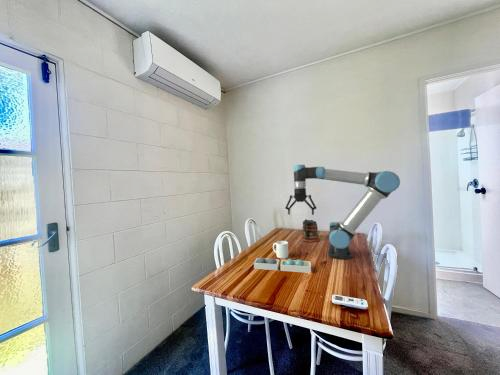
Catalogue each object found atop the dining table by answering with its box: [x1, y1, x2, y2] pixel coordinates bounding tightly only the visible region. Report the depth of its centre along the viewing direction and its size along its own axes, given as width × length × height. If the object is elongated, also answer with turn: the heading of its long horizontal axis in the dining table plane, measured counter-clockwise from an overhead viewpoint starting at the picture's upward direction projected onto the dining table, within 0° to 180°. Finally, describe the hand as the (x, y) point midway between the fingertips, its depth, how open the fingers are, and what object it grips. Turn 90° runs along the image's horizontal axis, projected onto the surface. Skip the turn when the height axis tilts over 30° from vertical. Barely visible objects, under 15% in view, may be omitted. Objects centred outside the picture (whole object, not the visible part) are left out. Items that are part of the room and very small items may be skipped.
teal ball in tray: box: [295, 259, 304, 266], centre depth 120 cm, size 6×6×6 cm
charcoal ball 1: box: [257, 256, 266, 263], centre depth 126 cm, size 6×6×6 cm
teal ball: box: [285, 258, 294, 265], centre depth 122 cm, size 6×6×6 cm
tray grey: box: [253, 257, 280, 271], centre depth 125 cm, size 14×8×4 cm, turn 75°
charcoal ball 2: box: [267, 257, 276, 264], centre depth 125 cm, size 6×6×6 cm
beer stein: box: [301, 218, 320, 243], centre depth 177 cm, size 19×15×20 cm
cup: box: [272, 240, 289, 259], centre depth 143 cm, size 8×12×10 cm
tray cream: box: [279, 259, 312, 274], centre depth 121 cm, size 17×8×4 cm, turn 75°
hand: (300, 219), depth 137 cm, fingers open, 13 cm apart
